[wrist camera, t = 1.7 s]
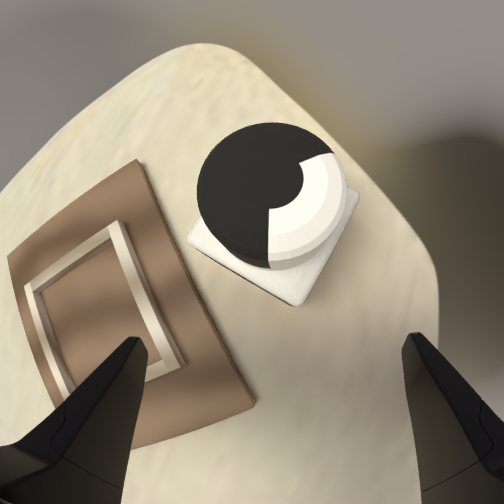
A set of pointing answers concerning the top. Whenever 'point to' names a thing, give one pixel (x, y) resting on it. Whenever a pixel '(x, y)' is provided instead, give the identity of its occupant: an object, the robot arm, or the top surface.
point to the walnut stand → (124, 308)
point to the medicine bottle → (272, 207)
